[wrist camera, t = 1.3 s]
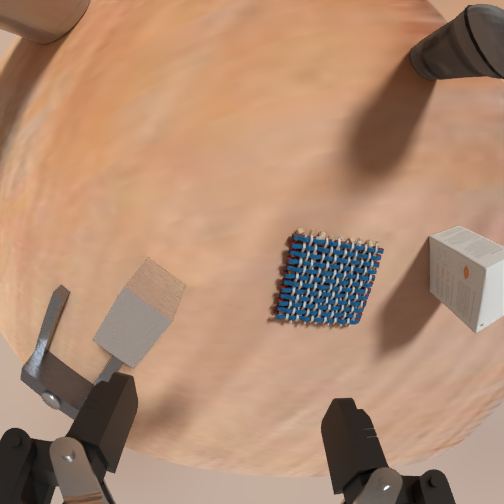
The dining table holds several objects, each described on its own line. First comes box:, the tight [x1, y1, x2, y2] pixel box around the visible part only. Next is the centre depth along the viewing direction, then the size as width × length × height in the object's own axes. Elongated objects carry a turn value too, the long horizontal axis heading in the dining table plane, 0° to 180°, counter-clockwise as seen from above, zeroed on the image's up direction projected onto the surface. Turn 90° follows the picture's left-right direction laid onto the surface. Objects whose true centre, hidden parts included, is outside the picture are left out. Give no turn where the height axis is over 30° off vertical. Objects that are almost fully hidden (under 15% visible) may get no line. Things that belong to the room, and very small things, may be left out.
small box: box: [429, 226, 504, 333], centre depth 24 cm, size 8×6×10 cm
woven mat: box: [274, 228, 384, 326], centre depth 29 cm, size 10×11×2 cm
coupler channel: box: [21, 285, 124, 420], centre depth 29 cm, size 12×18×7 cm, turn 140°
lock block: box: [93, 257, 186, 369], centre depth 26 cm, size 5×8×7 cm, turn 140°
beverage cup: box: [410, 4, 504, 80], centre depth 12 cm, size 7×7×20 cm
